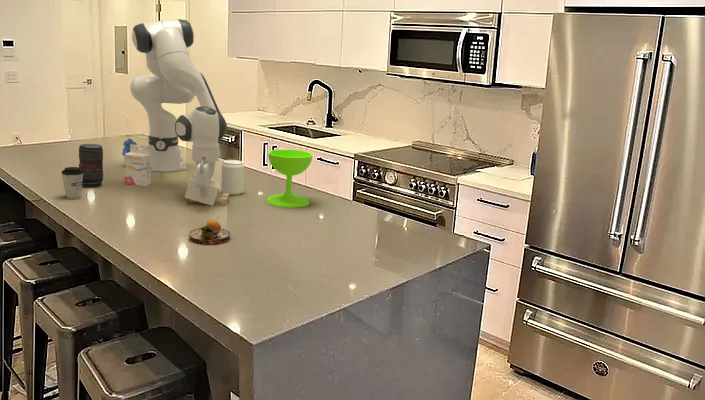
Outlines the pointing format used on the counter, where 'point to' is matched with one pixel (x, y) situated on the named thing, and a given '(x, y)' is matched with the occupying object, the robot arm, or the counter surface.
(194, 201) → the ball
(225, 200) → the oak stop strip
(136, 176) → the ink cartridge box
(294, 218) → the counter surface
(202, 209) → the counter surface
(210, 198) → the matte white cuboid
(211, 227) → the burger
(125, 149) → the grapes
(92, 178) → the camera lens
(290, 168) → the wineglass
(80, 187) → the coffee cup
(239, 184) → the beverage can
